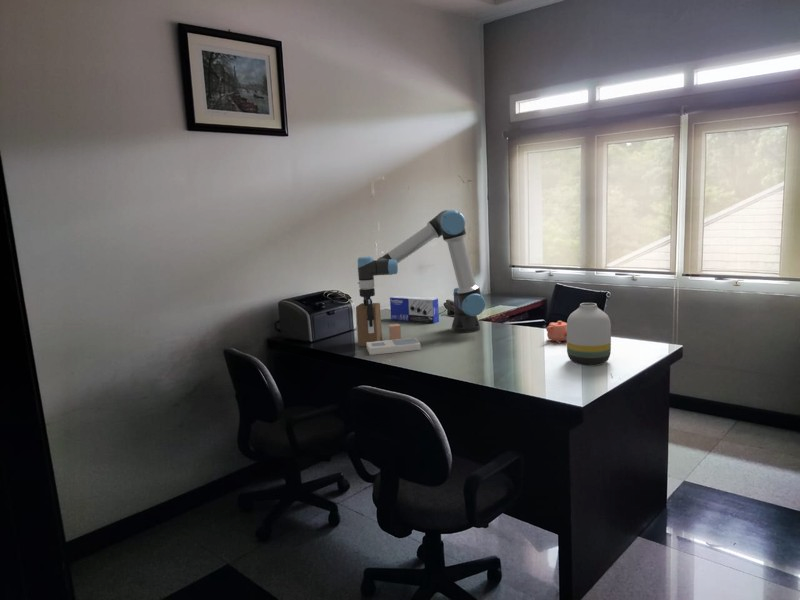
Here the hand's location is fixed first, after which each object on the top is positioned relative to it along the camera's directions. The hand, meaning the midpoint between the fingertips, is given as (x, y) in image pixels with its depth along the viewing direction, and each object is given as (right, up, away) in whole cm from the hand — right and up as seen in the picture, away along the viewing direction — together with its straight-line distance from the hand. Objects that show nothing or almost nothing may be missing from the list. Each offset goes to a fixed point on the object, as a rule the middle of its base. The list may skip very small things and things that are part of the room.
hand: (369, 330), depth 279 cm
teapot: (+91, -5, -16) cm, 92 cm away
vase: (+92, -10, -52) cm, 106 cm away
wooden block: (+1, -7, +1) cm, 7 cm away
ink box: (+24, +2, +51) cm, 57 cm away
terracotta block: (+13, -6, +5) cm, 15 cm away
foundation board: (+12, -8, -12) cm, 19 cm away
